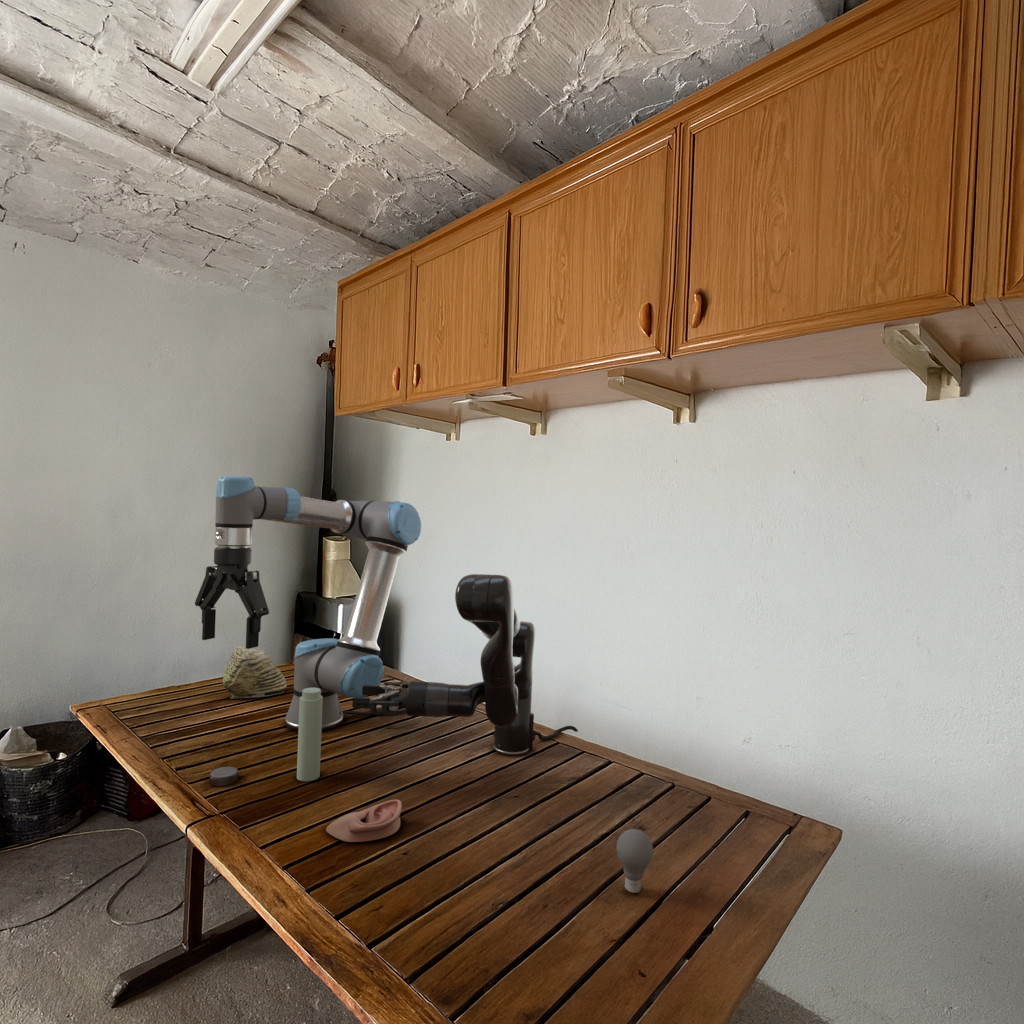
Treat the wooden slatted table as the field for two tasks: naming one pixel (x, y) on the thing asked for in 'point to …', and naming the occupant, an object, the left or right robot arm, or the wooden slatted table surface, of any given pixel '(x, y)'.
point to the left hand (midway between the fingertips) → (229, 643)
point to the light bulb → (634, 857)
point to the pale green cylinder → (309, 734)
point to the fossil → (252, 674)
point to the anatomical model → (368, 823)
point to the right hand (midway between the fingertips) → (357, 696)
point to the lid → (223, 776)
